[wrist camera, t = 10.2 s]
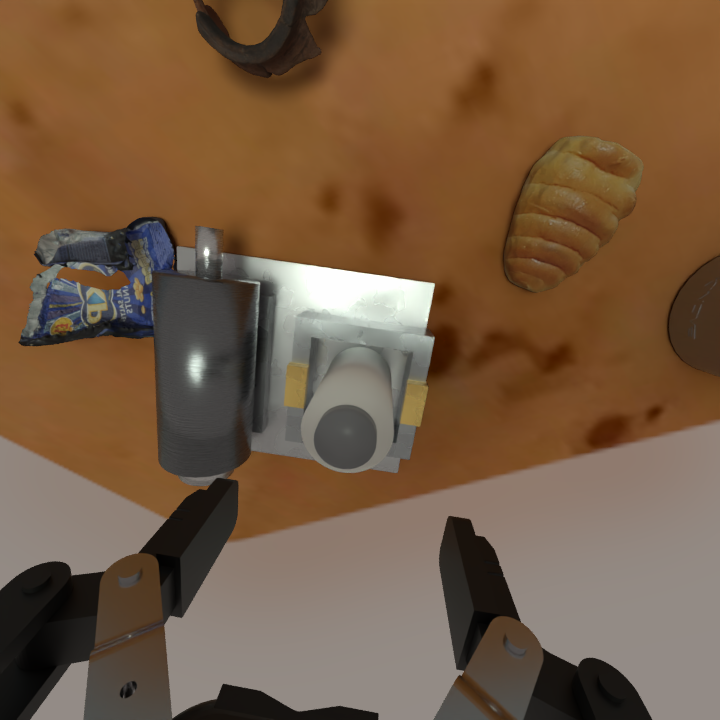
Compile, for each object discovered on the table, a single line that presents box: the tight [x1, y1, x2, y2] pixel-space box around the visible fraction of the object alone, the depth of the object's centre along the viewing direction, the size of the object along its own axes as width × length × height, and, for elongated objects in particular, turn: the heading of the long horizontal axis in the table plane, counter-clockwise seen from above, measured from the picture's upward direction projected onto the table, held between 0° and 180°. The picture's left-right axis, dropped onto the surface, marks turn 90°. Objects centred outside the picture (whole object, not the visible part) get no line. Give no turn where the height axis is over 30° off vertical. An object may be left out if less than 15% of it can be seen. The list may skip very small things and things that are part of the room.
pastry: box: [504, 136, 644, 293], centre depth 22 cm, size 9×7×4 cm
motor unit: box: [152, 226, 435, 486], centre depth 24 cm, size 19×18×7 cm
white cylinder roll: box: [301, 347, 394, 473], centre depth 22 cm, size 5×5×10 cm
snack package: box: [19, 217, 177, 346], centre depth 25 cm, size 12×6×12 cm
